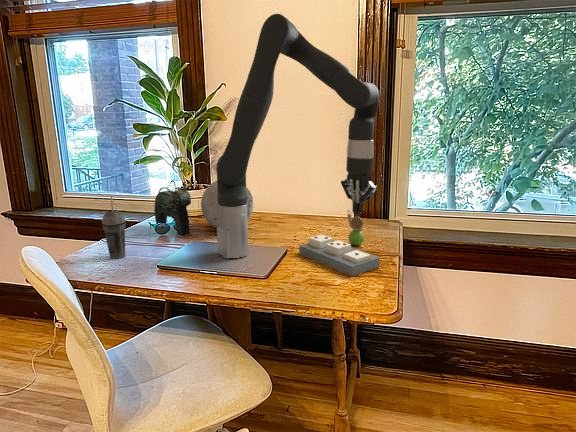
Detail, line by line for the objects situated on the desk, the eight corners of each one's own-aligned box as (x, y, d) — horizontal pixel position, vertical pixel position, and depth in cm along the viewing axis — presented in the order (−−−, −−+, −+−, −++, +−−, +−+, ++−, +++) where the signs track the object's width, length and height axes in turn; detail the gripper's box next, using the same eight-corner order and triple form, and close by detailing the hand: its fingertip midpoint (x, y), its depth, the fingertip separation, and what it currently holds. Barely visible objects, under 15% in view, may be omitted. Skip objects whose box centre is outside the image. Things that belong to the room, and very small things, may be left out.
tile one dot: (356, 267, 130) (357, 258, 129) (343, 261, 134) (343, 253, 133) (369, 262, 133) (370, 254, 132) (356, 257, 137) (356, 249, 137)
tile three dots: (337, 256, 136) (338, 247, 135) (325, 251, 140) (325, 243, 139) (350, 252, 139) (351, 244, 138) (338, 247, 143) (338, 239, 142)
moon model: (192, 234, 167) (189, 182, 161) (217, 220, 185) (214, 173, 180) (241, 239, 161) (239, 185, 155) (261, 224, 179) (260, 175, 174)
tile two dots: (320, 249, 142) (320, 241, 141) (309, 244, 146) (309, 237, 145) (333, 245, 145) (333, 237, 144) (321, 241, 149) (321, 233, 148)
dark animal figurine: (194, 233, 167) (191, 182, 162) (180, 237, 163) (176, 184, 157) (165, 224, 180) (161, 175, 175) (151, 227, 175) (146, 178, 170)
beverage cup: (104, 261, 139) (96, 200, 134) (107, 254, 146) (100, 195, 141) (128, 259, 141) (122, 198, 136) (130, 252, 148) (124, 193, 143)
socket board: (352, 276, 127) (352, 266, 127) (299, 253, 146) (299, 245, 145) (379, 266, 134) (380, 257, 134) (326, 246, 153) (326, 238, 152)
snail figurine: (350, 240, 158) (352, 208, 155) (366, 244, 154) (368, 211, 151) (342, 244, 154) (343, 211, 151) (358, 248, 150) (360, 214, 147)
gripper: (334, 154, 128) (332, 211, 132) (368, 159, 118) (365, 221, 122) (352, 152, 132) (350, 208, 137) (387, 156, 122) (383, 217, 127)
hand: (357, 214), depth 130 cm, fingers closed
